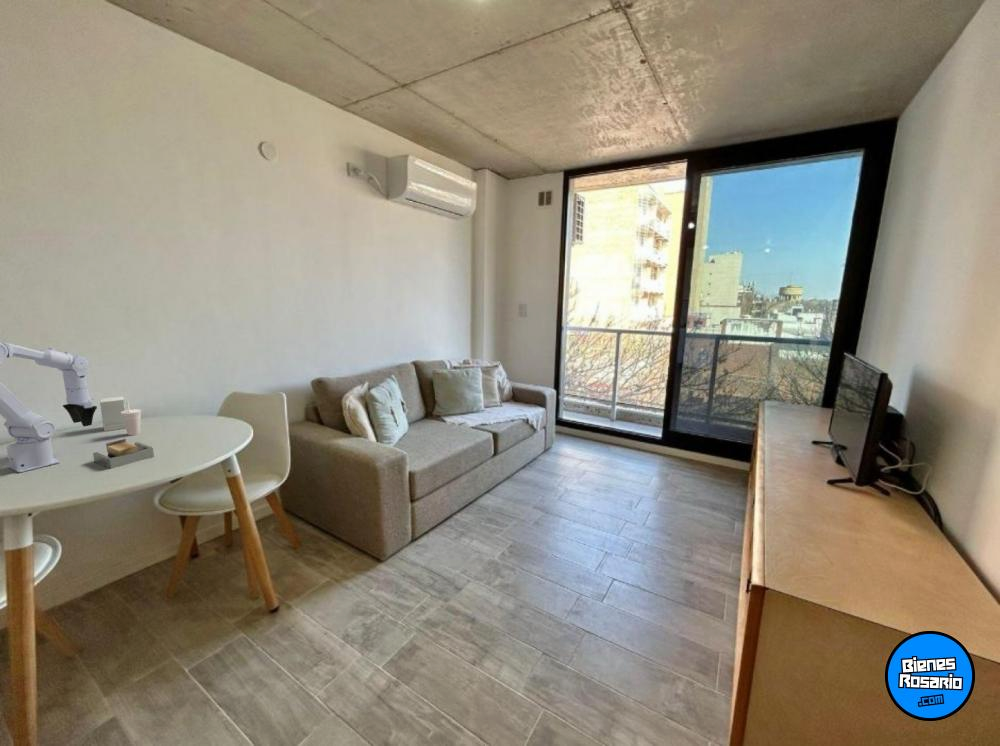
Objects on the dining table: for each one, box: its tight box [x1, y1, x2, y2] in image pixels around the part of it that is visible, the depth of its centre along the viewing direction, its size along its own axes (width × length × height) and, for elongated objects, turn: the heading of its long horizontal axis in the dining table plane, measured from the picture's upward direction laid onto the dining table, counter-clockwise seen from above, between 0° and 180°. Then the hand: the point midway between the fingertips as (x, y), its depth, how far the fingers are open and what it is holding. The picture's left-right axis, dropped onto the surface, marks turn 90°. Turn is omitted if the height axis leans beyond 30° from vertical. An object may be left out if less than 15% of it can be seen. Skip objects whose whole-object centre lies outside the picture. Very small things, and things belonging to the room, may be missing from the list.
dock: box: [92, 441, 155, 469], centre depth 142 cm, size 12×11×3 cm
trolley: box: [105, 438, 138, 458], centre depth 142 cm, size 6×8×6 cm
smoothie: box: [121, 400, 142, 436], centre depth 165 cm, size 6×6×14 cm
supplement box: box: [99, 396, 126, 432], centre depth 171 cm, size 7×7×13 cm
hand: (82, 423), depth 149 cm, fingers open, 7 cm apart
